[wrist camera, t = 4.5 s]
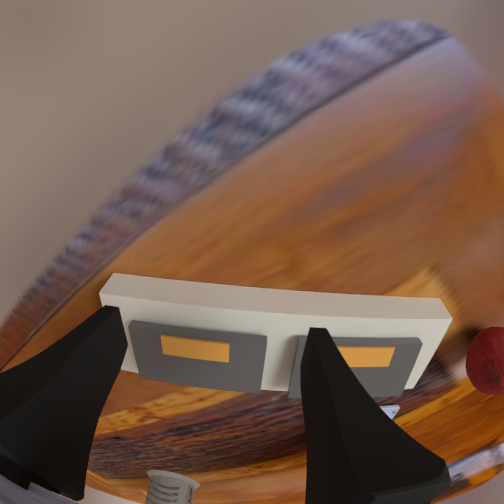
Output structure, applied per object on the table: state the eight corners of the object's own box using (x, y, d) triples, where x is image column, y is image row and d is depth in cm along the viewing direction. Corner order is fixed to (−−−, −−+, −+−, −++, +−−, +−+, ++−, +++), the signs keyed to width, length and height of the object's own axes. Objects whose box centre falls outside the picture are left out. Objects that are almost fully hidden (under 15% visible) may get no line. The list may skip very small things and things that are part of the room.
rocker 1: (260, 385, 22) (260, 395, 21) (142, 369, 22) (139, 378, 21) (267, 335, 19) (266, 345, 19) (132, 319, 20) (127, 328, 19)
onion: (443, 347, 24) (474, 414, 17) (484, 301, 21) (528, 364, 14) (472, 360, 25) (500, 418, 18) (508, 319, 22) (546, 375, 15)
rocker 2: (398, 389, 21) (401, 396, 20) (287, 390, 21) (288, 399, 20) (418, 337, 19) (423, 344, 19) (298, 335, 20) (299, 343, 19)
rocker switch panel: (392, 390, 27) (398, 410, 24) (137, 373, 27) (129, 393, 25) (439, 298, 21) (452, 318, 19) (113, 272, 22) (98, 292, 19)
